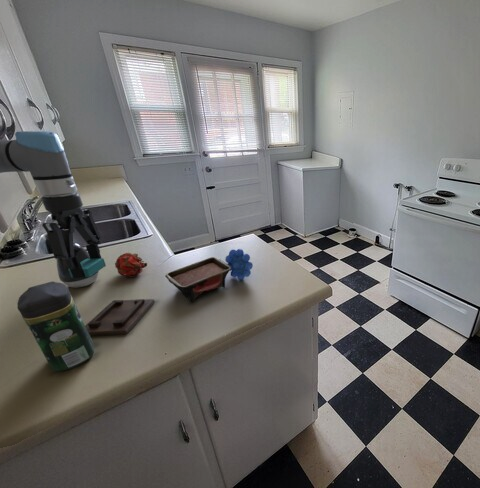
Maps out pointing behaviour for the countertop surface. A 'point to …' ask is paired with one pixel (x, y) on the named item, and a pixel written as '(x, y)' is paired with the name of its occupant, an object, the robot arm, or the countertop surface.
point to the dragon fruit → (129, 264)
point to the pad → (91, 266)
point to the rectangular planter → (199, 277)
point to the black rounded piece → (65, 275)
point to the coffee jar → (56, 325)
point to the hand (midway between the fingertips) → (89, 270)
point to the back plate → (118, 317)
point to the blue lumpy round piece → (239, 263)
